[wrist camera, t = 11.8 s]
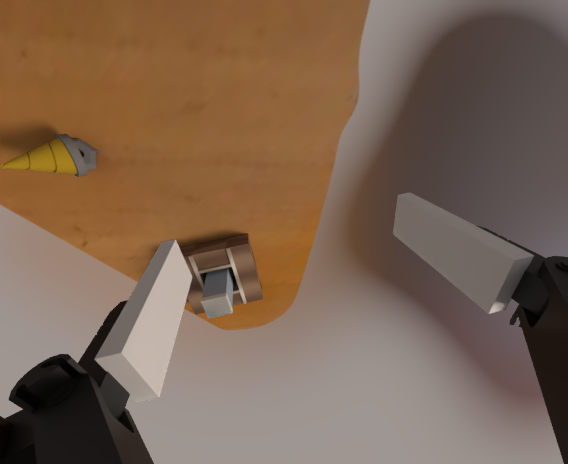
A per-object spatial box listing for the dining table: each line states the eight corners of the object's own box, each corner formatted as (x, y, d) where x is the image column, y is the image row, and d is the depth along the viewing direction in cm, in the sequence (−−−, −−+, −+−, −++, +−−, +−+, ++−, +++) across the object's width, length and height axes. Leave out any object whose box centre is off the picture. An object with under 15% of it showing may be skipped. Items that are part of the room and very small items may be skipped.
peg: (208, 264, 45) (200, 301, 36) (228, 259, 45) (226, 296, 36) (214, 279, 47) (208, 318, 38) (233, 275, 47) (232, 313, 39)
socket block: (173, 249, 42) (167, 261, 39) (247, 233, 43) (248, 244, 40) (198, 301, 49) (195, 315, 46) (261, 287, 50) (263, 299, 47)
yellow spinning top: (109, 176, 35) (18, 196, 28) (89, 145, 34) (-9, 158, 27) (111, 158, 31) (6, 176, 24) (89, 123, 30) (-25, 131, 23)
